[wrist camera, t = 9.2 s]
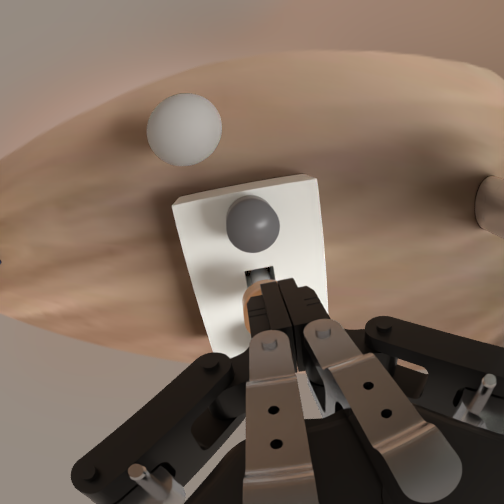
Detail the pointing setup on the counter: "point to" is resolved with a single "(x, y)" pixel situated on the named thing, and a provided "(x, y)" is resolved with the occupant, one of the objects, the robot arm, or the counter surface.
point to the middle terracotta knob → (254, 290)
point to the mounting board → (237, 262)
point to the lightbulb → (184, 129)
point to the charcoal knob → (252, 224)
